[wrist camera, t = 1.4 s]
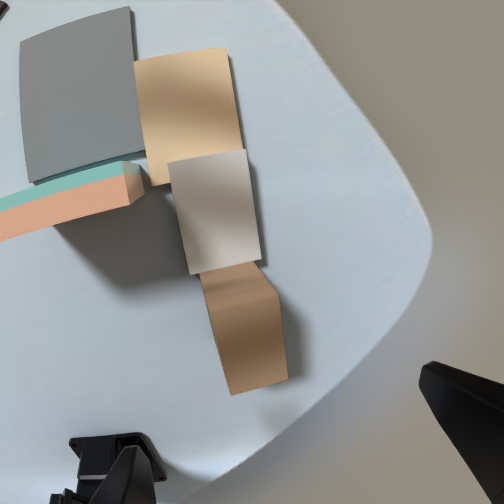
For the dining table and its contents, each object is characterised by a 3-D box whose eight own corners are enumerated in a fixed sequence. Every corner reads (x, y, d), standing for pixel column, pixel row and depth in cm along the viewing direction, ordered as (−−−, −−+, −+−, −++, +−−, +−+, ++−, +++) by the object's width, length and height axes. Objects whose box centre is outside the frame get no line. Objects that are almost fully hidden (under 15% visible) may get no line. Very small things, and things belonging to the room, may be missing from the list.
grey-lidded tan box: (269, 328, 20) (297, 376, 15) (207, 343, 19) (221, 397, 14) (243, 149, 16) (272, 148, 11) (167, 162, 15) (165, 166, 11)
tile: (144, 193, 16) (129, 204, 10) (47, 219, 15) (-4, 242, 9) (139, 164, 16) (121, 160, 10) (41, 191, 15) (-12, 203, 9)
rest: (243, 168, 17) (245, 168, 16) (152, 186, 16) (151, 186, 15) (224, 50, 15) (226, 47, 14) (134, 64, 14) (133, 61, 14)
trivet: (146, 149, 15) (145, 149, 15) (32, 182, 14) (29, 182, 14) (130, 8, 13) (129, 5, 13) (22, 44, 12) (20, 42, 11)
